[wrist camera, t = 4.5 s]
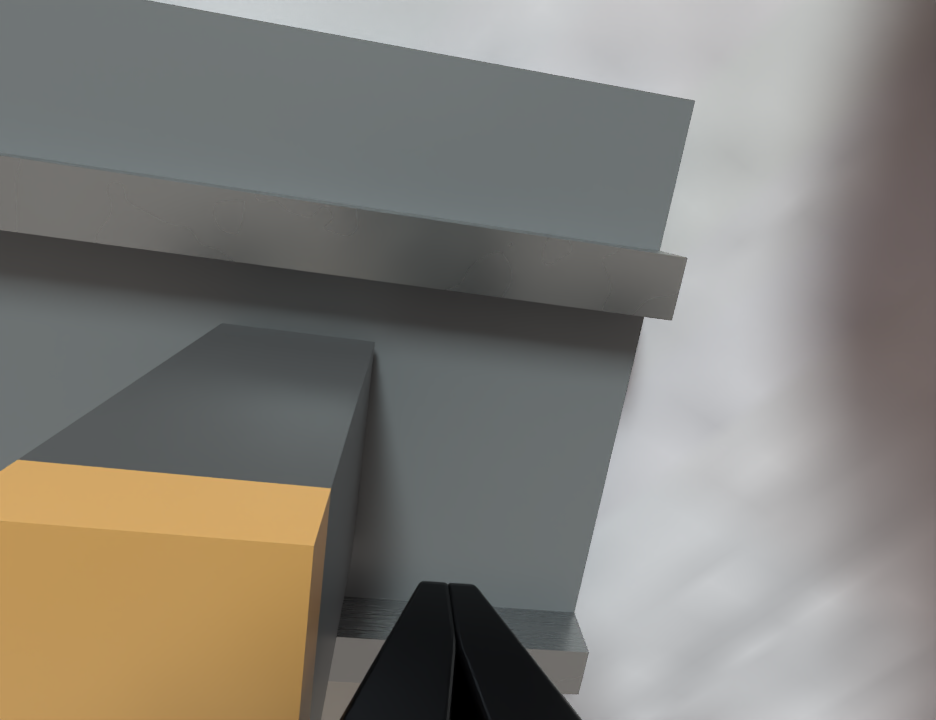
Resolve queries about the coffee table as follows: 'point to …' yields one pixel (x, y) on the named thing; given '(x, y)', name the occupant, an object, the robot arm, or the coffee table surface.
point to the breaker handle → (188, 538)
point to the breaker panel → (347, 271)
